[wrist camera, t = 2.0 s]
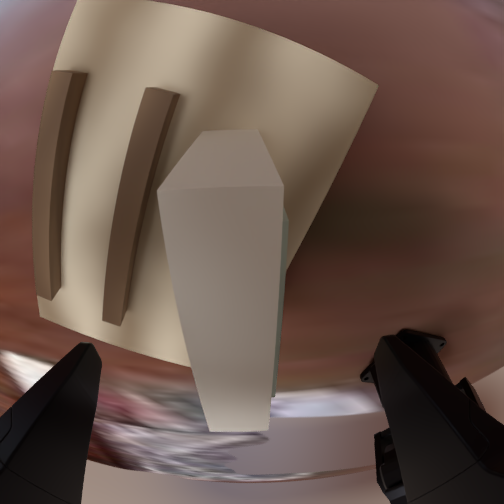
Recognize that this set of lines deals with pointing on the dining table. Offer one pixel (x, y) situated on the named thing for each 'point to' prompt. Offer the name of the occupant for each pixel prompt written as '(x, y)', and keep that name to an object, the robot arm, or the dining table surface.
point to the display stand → (166, 152)
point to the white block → (228, 272)
